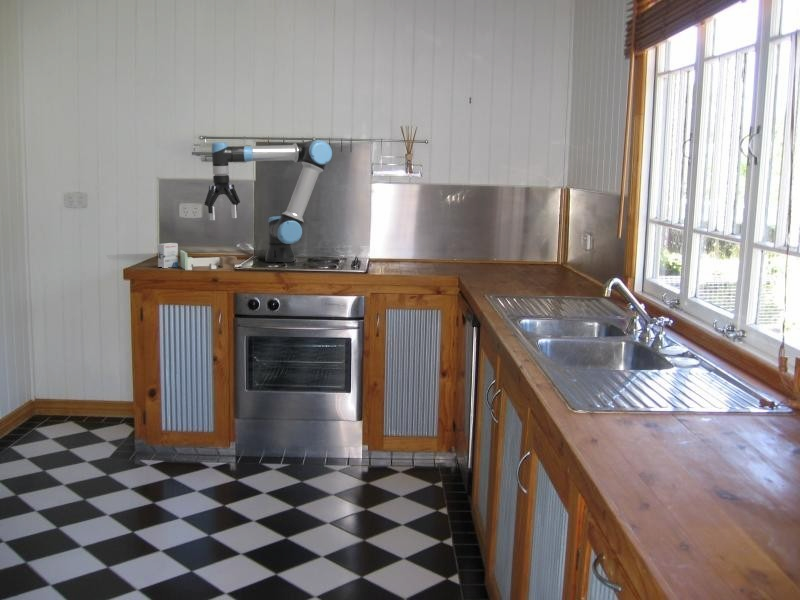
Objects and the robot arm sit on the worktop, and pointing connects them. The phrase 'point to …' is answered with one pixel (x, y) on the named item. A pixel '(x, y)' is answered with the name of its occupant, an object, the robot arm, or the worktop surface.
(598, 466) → the worktop surface
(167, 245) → the ink box
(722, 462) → the worktop surface
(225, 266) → the block
